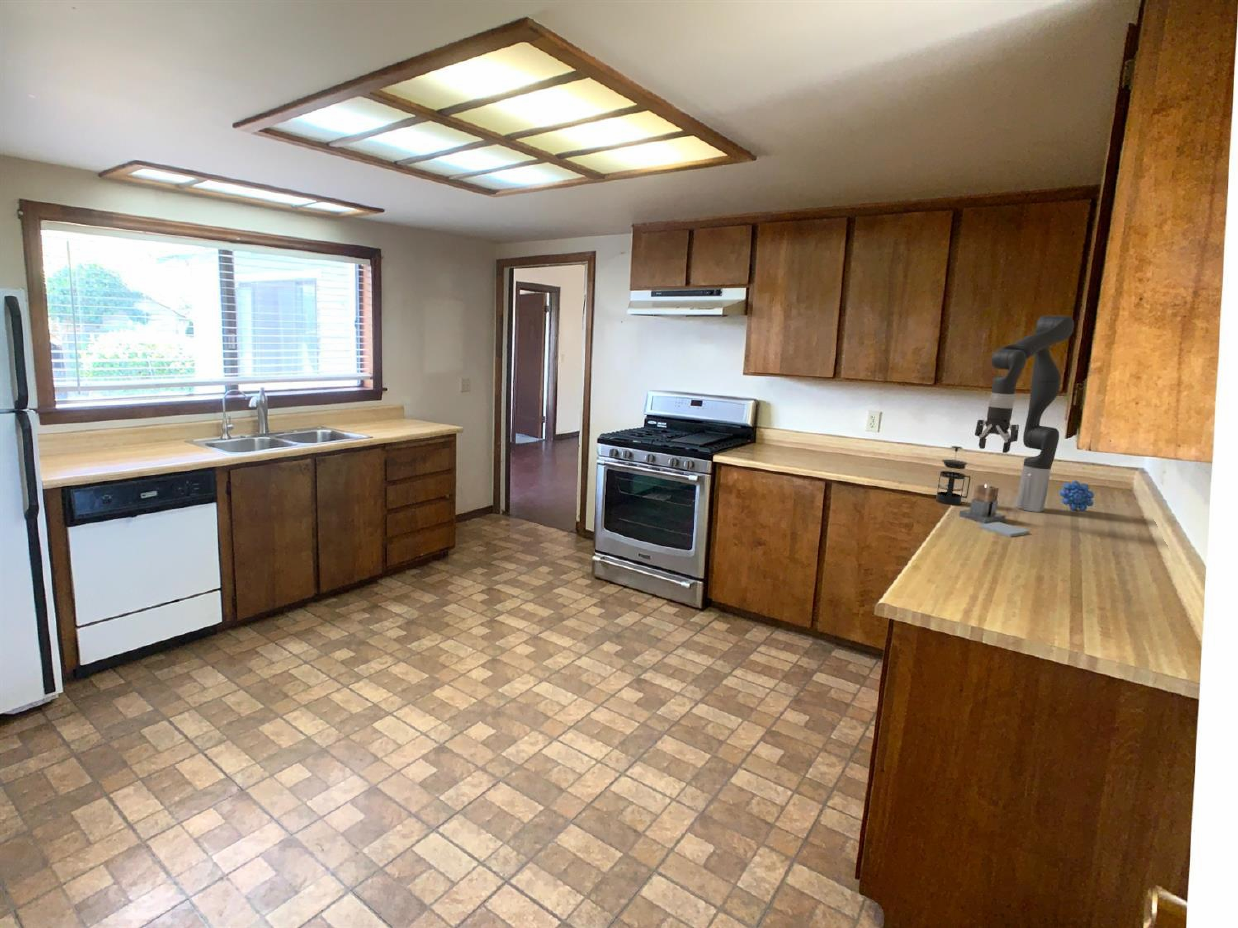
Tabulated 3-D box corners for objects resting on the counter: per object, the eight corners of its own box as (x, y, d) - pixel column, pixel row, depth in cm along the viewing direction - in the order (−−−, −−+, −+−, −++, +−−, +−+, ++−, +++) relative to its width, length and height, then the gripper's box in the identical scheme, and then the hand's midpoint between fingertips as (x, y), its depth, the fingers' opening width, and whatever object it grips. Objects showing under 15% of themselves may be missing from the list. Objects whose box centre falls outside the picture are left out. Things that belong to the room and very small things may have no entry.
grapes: (1057, 509, 255) (1063, 480, 253) (1055, 506, 261) (1061, 477, 259) (1093, 515, 250) (1099, 485, 247) (1090, 511, 256) (1096, 482, 253)
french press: (933, 502, 257) (942, 446, 252) (933, 497, 265) (941, 443, 260) (966, 507, 252) (975, 450, 247) (965, 502, 260) (974, 446, 256)
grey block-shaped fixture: (978, 513, 244) (984, 480, 241) (1004, 520, 235) (1010, 486, 232) (959, 516, 238) (964, 482, 235) (984, 523, 229) (990, 488, 227)
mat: (997, 524, 229) (998, 521, 229) (1028, 533, 219) (1029, 530, 219) (978, 527, 224) (979, 524, 224) (1009, 536, 214) (1010, 534, 214)
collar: (982, 497, 239) (984, 484, 238) (996, 501, 234) (998, 488, 233) (973, 498, 236) (975, 485, 235) (987, 502, 231) (989, 489, 230)
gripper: (1027, 408, 224) (1019, 453, 227) (987, 403, 236) (980, 446, 239) (1014, 408, 220) (1006, 454, 224) (975, 403, 233) (968, 447, 236)
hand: (993, 450), depth 231 cm, fingers open, 8 cm apart
